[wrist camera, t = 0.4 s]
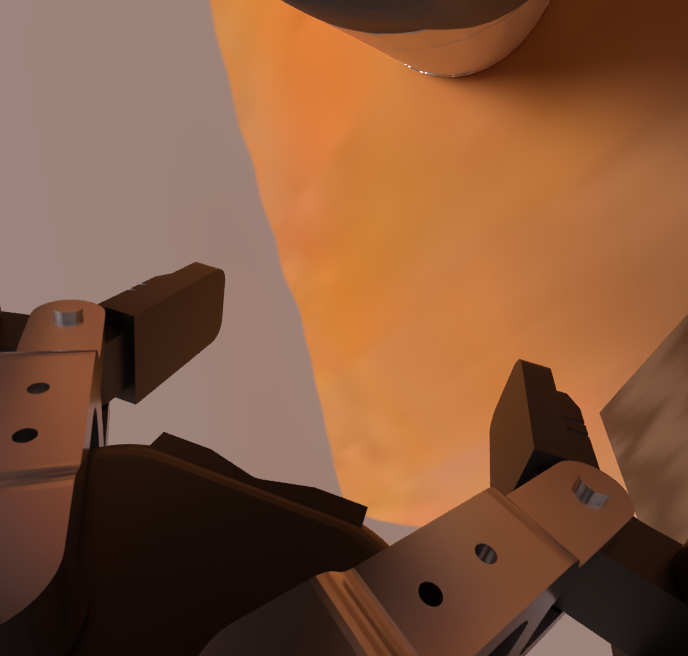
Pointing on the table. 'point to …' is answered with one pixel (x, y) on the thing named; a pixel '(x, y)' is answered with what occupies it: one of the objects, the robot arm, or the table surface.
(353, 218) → the table surface
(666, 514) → the walnut cabinet
